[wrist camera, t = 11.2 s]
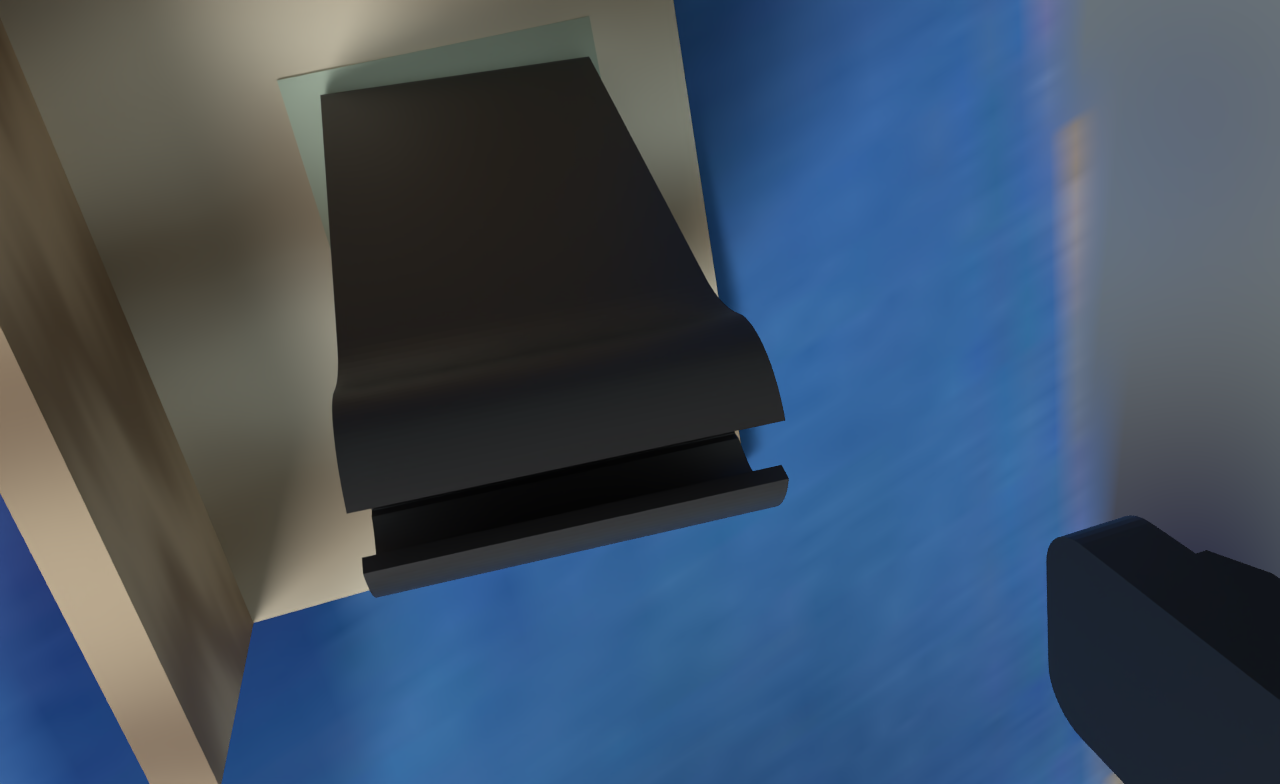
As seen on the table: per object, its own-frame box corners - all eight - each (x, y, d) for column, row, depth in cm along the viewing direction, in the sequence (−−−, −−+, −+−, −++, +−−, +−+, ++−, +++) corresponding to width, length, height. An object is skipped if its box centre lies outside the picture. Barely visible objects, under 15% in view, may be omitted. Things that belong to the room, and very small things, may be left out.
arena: (737, 471, 29) (832, 602, 23) (211, 618, 27) (161, 806, 21) (626, -247, 22) (722, -337, 16) (-114, -123, 19) (-341, -169, 13)
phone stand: (320, 90, 22) (262, 200, 11) (588, 55, 23) (771, 122, 12) (403, 454, 26) (420, 802, 15) (631, 409, 27) (802, 703, 16)
